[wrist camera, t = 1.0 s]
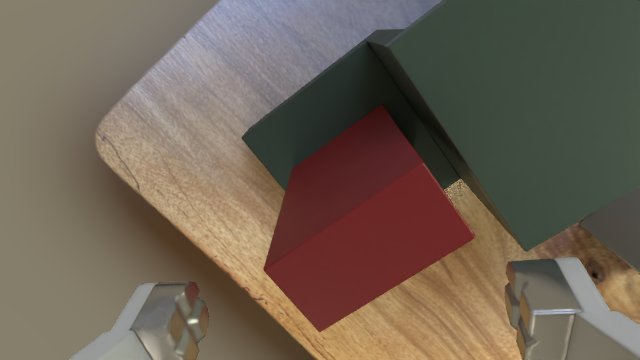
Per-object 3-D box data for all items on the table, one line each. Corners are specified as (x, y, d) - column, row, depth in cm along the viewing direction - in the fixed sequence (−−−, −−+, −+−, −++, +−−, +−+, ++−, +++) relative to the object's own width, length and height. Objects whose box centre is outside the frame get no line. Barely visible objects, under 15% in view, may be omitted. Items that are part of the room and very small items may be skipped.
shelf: (248, 128, 33) (194, 193, 20) (538, -96, 28) (725, -210, 15) (339, 239, 36) (343, 358, 23) (617, 56, 31) (830, 75, 18)
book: (291, 169, 31) (261, 270, 18) (382, 103, 29) (423, 162, 16) (323, 209, 32) (318, 333, 19) (413, 148, 30) (476, 237, 17)
